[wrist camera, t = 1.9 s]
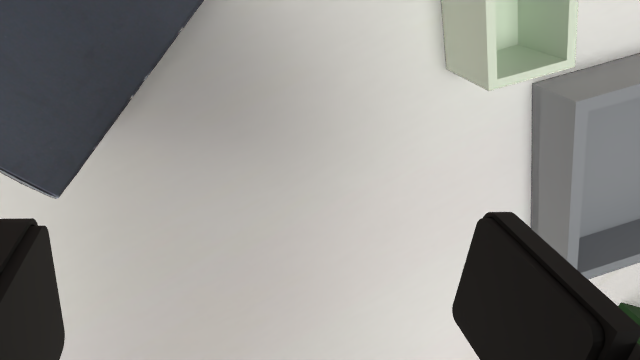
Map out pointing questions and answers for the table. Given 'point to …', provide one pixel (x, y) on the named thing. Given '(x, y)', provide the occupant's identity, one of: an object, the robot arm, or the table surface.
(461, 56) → the small crate
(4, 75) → the small box
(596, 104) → the big crate
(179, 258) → the table surface
